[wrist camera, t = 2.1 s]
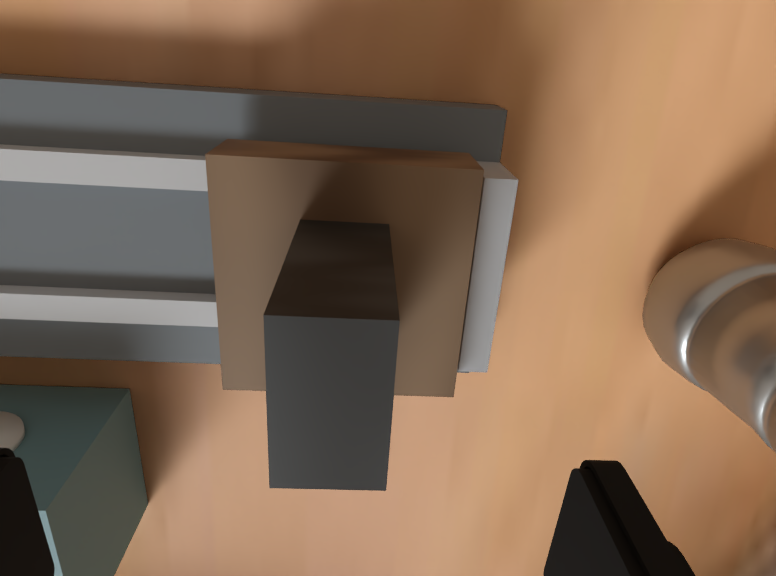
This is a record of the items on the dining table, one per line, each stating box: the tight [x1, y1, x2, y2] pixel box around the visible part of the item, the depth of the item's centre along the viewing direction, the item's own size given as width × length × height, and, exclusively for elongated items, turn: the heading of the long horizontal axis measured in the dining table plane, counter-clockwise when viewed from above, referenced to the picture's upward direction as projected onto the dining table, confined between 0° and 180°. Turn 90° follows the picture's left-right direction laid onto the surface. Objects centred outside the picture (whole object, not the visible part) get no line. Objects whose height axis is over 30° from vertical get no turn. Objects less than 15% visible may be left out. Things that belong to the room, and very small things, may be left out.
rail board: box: [0, 74, 518, 373], centre depth 22 cm, size 28×12×5 cm, turn 86°
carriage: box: [205, 139, 484, 491], centre depth 18 cm, size 9×9×10 cm
